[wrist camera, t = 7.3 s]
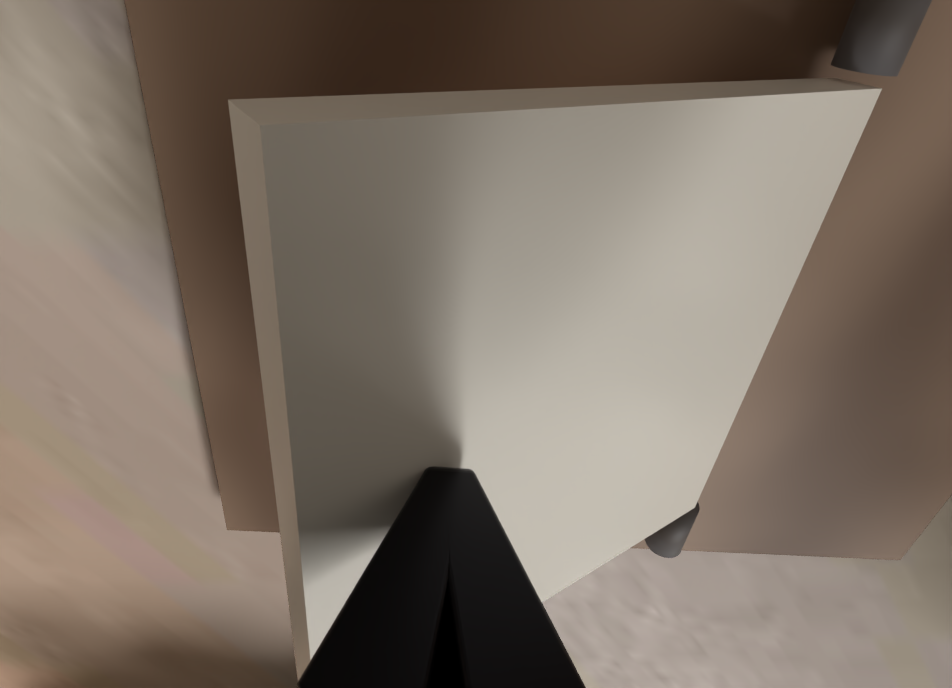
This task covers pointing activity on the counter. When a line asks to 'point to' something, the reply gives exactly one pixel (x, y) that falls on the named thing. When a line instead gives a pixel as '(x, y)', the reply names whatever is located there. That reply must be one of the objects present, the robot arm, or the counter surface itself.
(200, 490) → the counter surface
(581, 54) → the board
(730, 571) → the counter surface
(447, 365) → the tile
